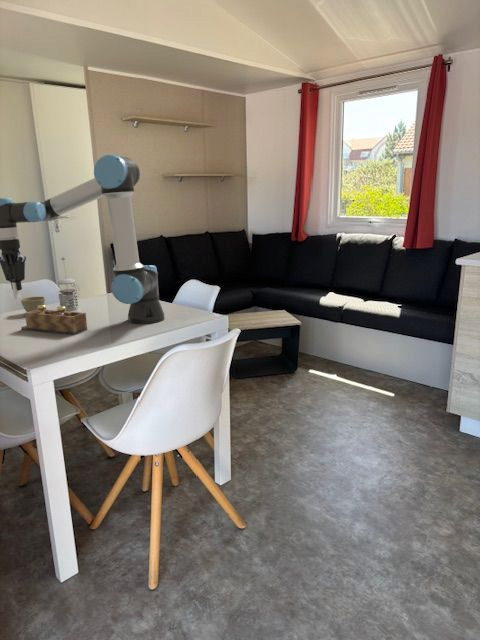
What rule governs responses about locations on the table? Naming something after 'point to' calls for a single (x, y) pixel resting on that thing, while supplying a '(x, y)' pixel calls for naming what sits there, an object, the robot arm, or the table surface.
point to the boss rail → (61, 310)
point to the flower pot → (32, 303)
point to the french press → (68, 295)
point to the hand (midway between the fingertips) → (18, 298)
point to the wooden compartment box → (56, 320)
